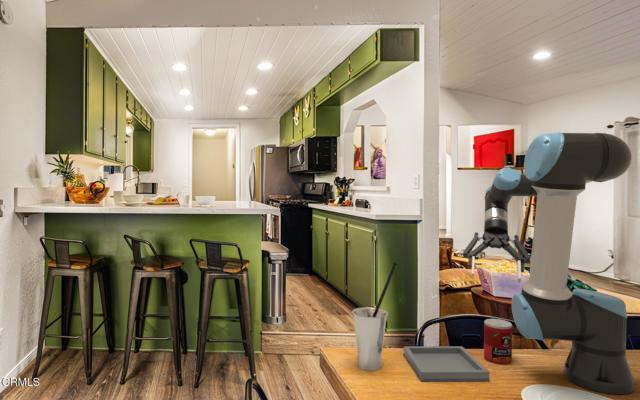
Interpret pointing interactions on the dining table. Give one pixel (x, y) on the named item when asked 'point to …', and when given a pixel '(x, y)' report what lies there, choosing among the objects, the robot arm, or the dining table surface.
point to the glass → (371, 332)
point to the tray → (445, 364)
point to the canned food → (498, 341)
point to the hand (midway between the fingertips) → (495, 278)
